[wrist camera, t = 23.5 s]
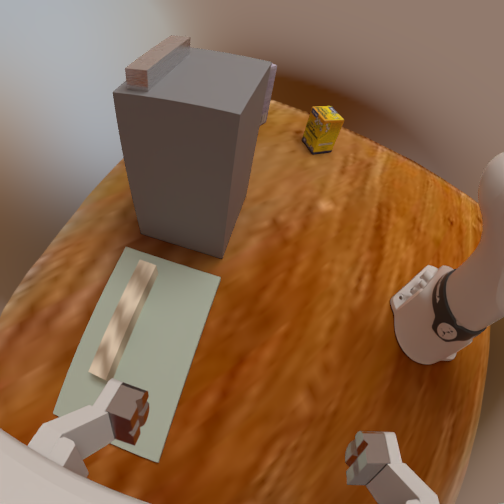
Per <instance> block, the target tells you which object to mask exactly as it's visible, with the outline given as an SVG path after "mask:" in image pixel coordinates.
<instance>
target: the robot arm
mask: <svg viewBox="0 0 504 504" xmlns="http://www.w3.org/2000/svg"><path fill="white" fill-rule="evenodd" d="M478 200H479V207H480V210H481V214H482V220H483V231H482V236H481V240H480V243H479V245H478V247H477V248H476V250H475V251H474V252H473V253H472V254H471V256H470V257H469V258H468V259H467V260H466V261H465V262H464V263H463V264H462V265H461V266H459V267H458V268H457V269H452V268H451V267H448V266H441V267H440V268H439V269H437V268H436V267H433V266H430V265H428V266H426V267H425V268H424V269H423V270H422V271H420V272H419V273H418V274H417V275H416V276H415V277H414V278H413V279H412V280H411V281H410V282H409V283H407V284H406V285H405V286H404V287H403V288H402V289H401V290H400V291H399V292H397V293H396V294H395V295H394V296H393V297H392V298H391V300H390V303H391V307H392V310H393V312H394V326H395V333H396V337H397V340H398V342H399V344H400V346H401V348H402V349H403V351H404V352H405V353H406V354H407V356H409V357H410V358H411V359H412V360H414V361H416V362H418V363H420V364H433V363H436V362H438V361H441V360H443V361H451V360H452V359H454V358H455V356H456V353H457V352H458V351H459V350H461V349H463V348H464V347H466V346H467V345H469V344H470V343H471V342H472V339H473V338H474V337H476V336H478V335H479V334H480V333H481V332H483V331H484V330H485V329H486V328H487V326H489V325H491V324H492V323H494V322H496V321H498V320H499V319H501V318H502V317H504V152H503V153H501V154H499V155H497V156H496V157H494V158H493V159H492V160H491V161H490V163H489V164H488V165H487V166H486V168H485V170H484V172H483V174H482V176H481V179H480V183H479V190H478ZM399 298H400V299H401V300H400V299H399ZM148 397H149V394H148V391H146V390H143V389H140V388H138V387H135V386H132V385H129V384H127V383H124V382H121V381H119V380H116V379H113V378H112V379H110V380H109V381H108V382H107V384H106V386H105V387H104V389H103V390H102V392H101V393H100V395H99V396H98V398H97V399H96V401H95V403H94V404H93V406H91V405H87V406H85V407H83V408H80V409H78V410H76V411H73V412H71V413H69V414H66V415H64V416H61V417H59V418H57V419H54V420H52V421H49V422H47V423H44V424H42V426H41V427H40V429H39V430H38V431H37V433H36V434H35V436H34V437H33V439H32V440H31V441H30V443H29V444H28V446H26V445H25V444H23V443H21V442H20V441H18V440H17V439H15V438H14V437H12V436H11V435H9V434H8V433H6V432H5V431H3V430H2V429H1V428H0V504H151V503H148V502H145V501H142V500H139V499H136V498H133V497H130V496H128V495H125V494H122V493H120V492H117V491H115V490H112V489H110V488H107V487H105V486H103V485H100V484H98V483H96V482H94V481H91V480H89V479H87V476H88V474H89V473H88V470H87V468H86V466H85V464H84V462H83V459H85V458H86V457H88V456H90V455H91V454H93V453H95V452H96V451H98V450H100V449H101V448H103V447H104V446H106V445H108V444H109V443H111V442H112V441H114V440H115V439H117V440H119V441H122V442H125V443H128V444H131V445H134V446H135V445H136V442H137V440H138V438H139V436H140V434H141V432H140V427H142V426H143V425H145V423H146V421H147V418H148V414H149V403H148V402H147V399H148ZM345 462H346V464H347V465H348V466H349V469H348V470H347V471H346V475H347V485H366V487H367V488H368V490H369V491H370V493H371V494H372V496H373V497H374V498H375V500H376V501H377V503H378V504H439V501H438V496H437V495H436V494H435V493H434V492H433V491H432V490H431V489H430V488H429V487H428V486H427V485H426V484H425V483H424V482H423V481H422V480H421V479H420V478H419V477H418V476H417V475H416V474H415V473H414V472H413V471H412V470H411V469H410V468H409V467H408V466H407V465H406V464H405V463H402V460H401V455H400V451H399V447H398V443H397V438H396V434H395V433H394V432H380V431H359V432H357V434H356V435H355V440H354V441H352V442H350V444H349V445H348V447H347V450H346V454H345ZM499 504H504V503H499Z"/></svg>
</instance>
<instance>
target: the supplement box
mask: <svg viewBox="0 0 504 504" xmlns="http://www.w3.org/2000/svg"><path fill="white" fill-rule="evenodd" d="M343 122H344V119H343V118H342V117H341V116H340V115H339V114H338V113H337V112H336V111H335V110H334V108H333V107H332V106H318V107H312V110H311V113H310V116H309V119H308V122H307V125H306V128H305V131H304V135H303V138H302V141H303V142H304V143H305V144H306V146H307V147H308V148H309V150H310V151H311V153H312V154H313V155H314V154H321V153H328V152H331V151H332V149H333V146H334V144H335V141H336V139H337V137H338V134H339V132H340V129H341V127H342V125H343Z"/></svg>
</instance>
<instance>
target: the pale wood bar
mask: <svg viewBox="0 0 504 504" xmlns="http://www.w3.org/2000/svg"><path fill="white" fill-rule="evenodd" d="M189 55H190V37H183V36H172V35H171V36H170V37H168V38H167V39H165V40H164V41H162V42H161V43H159V44H158V45H157V46H155V47H153V48H152V49H151V50H149V51H148V52H146V53H145V54H144V55H142V56H141V57H139V58H138V59H137V60H135V61H134V62H133V63H131V64H130V65H129V66H127V67H126V68H125V72H126V83H127V89H129V90H137V91H144V92H149V91H150V90H151V89H152V88H153V87H154V86H155V85H156V84H157V83H159V82H160V81H161V80H162V79H163V78H164V77H165V76H166V75H167V74H168V73H169V72H171V71H172V70H173V69H174V68H175V67H176V66H177V65H179V64H180V63H181V62H182V61H183V60H184V59H186V58H187V57H188V56H189Z"/></svg>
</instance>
